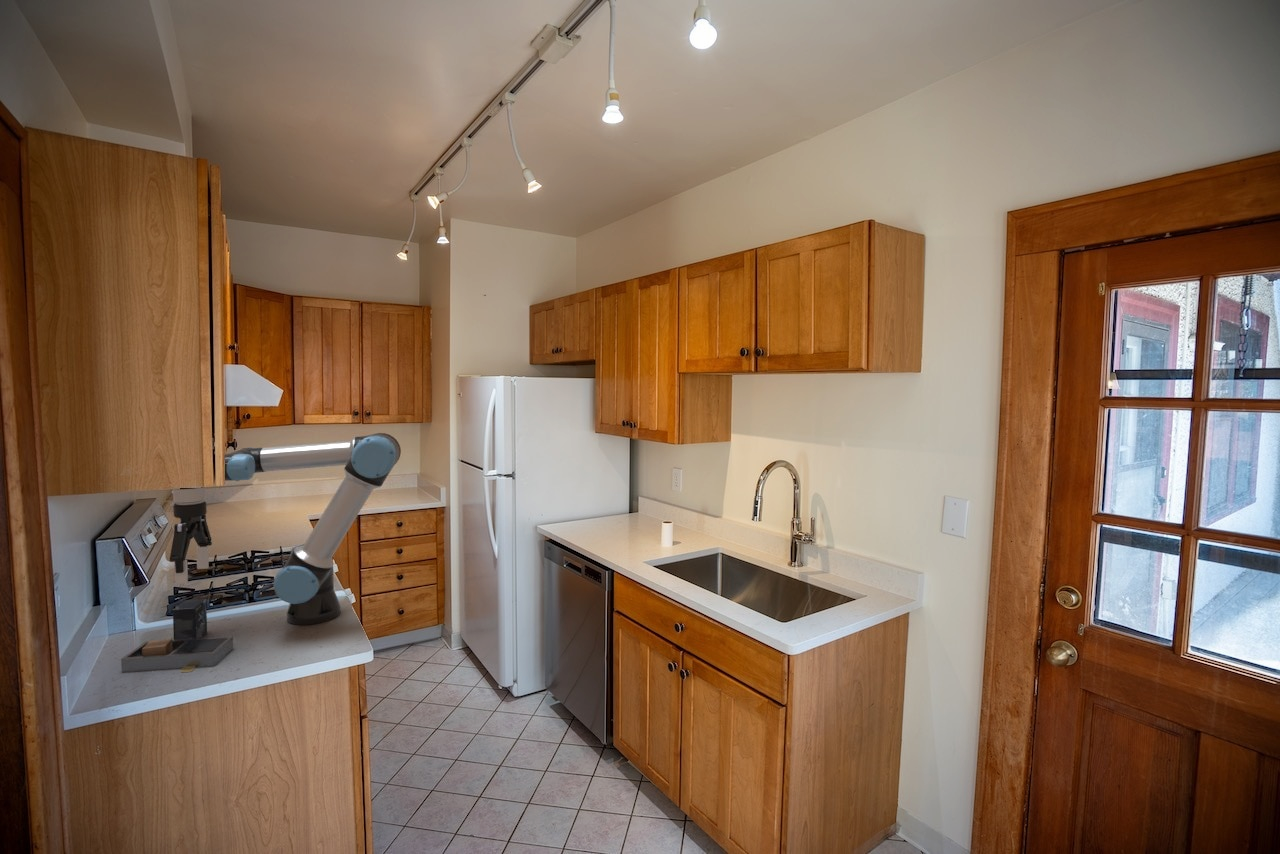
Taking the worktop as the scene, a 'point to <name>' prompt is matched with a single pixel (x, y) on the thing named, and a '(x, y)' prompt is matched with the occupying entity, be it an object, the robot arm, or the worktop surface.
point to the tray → (180, 655)
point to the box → (190, 619)
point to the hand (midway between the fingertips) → (192, 575)
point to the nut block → (157, 648)
